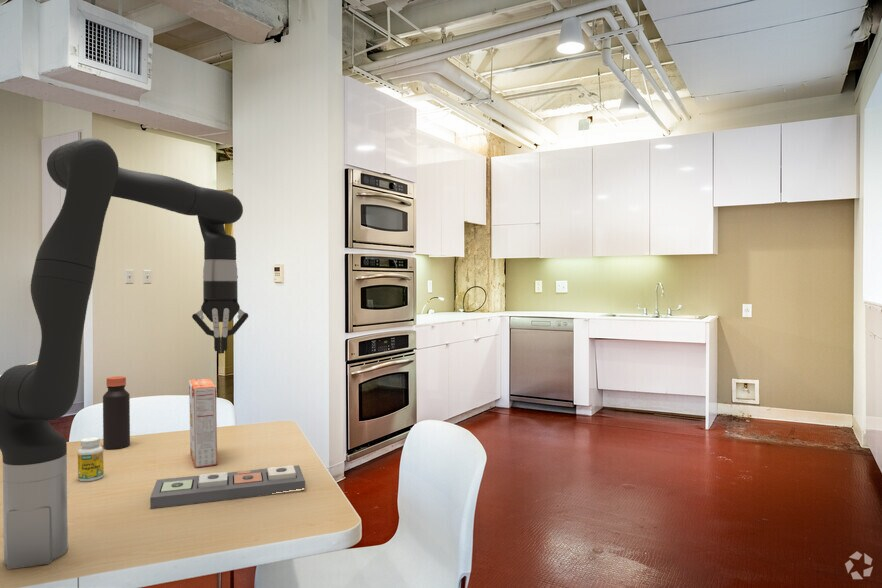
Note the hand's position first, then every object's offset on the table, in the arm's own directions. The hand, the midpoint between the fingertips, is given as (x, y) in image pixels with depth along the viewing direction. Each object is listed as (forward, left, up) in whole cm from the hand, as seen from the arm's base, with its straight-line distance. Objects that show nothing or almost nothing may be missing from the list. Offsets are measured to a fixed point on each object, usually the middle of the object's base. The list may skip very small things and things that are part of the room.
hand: (220, 353), depth 139 cm
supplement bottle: (+15, +30, -31) cm, 46 cm away
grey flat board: (-5, -2, -31) cm, 32 cm away
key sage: (-5, +9, -30) cm, 32 cm away
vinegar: (+44, +29, -31) cm, 61 cm away
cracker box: (+22, +5, -31) cm, 39 cm away
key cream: (-5, -13, -29) cm, 33 cm away
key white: (-5, +2, -29) cm, 30 cm away
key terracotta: (-5, -6, -30) cm, 31 cm away
